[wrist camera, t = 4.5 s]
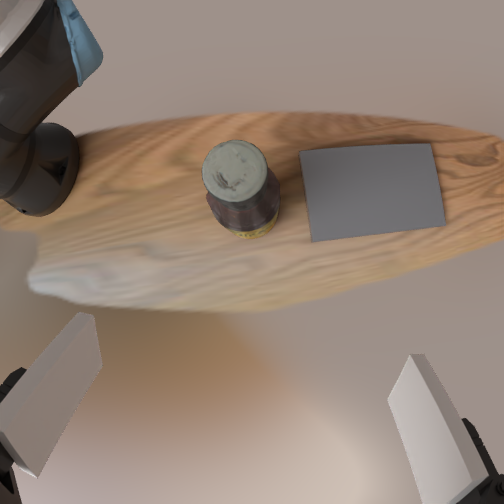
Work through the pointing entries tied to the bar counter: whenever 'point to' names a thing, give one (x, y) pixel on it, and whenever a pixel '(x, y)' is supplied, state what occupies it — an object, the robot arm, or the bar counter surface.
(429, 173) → the gray rectangular mat
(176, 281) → the bar counter surface
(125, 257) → the bar counter surface
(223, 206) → the sauce bottle
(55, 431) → the robot arm
